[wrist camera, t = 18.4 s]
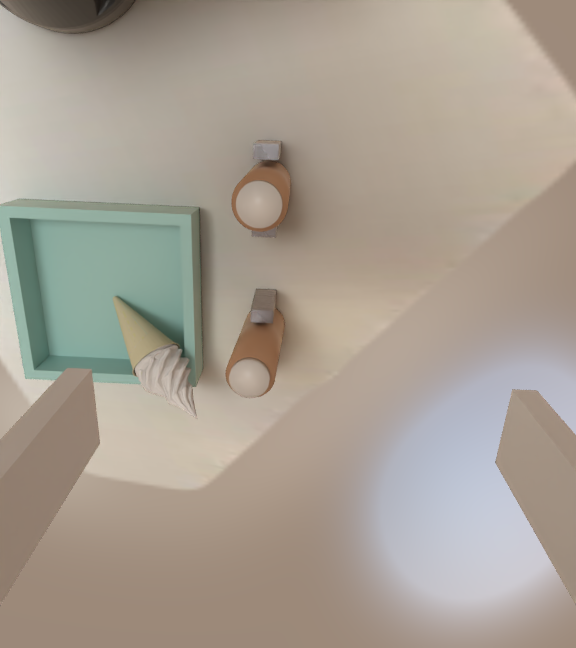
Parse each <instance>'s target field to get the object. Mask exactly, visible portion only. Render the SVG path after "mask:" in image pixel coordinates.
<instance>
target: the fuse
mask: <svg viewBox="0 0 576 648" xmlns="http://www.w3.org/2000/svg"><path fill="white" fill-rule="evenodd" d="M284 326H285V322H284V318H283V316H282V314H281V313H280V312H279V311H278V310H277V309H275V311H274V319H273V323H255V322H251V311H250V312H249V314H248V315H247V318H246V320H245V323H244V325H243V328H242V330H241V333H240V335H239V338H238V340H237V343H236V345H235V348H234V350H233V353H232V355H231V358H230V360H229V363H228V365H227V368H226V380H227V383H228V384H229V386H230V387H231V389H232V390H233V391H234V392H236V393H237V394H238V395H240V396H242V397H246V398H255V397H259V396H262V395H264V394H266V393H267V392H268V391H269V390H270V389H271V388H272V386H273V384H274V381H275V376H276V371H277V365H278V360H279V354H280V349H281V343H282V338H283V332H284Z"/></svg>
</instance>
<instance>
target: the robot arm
mask: <svg viewBox="0 0 576 648" xmlns="http://www.w3.org/2000/svg"><path fill="white" fill-rule="evenodd" d="M134 2H135V0H0V5H1V6H3V7H4V8H5V9H7V10H8V11H10V12H11V13H13V14H14V15H16V16H18V17H19V18H21V19H23V20H25V21H28V22H30V23H32V24H35V25H38V26H41V27H44V28H47V29H49V30H53V31H58V32H64V33H83V32H89V31H93V30H96V29H99V28H102V27H104V26H106V25H108V24H110V23H112V22H113V21H115V20H116V19H118V18H119V17H120V16H121V15H123V14H124V13H125V12H126V11H127V10H128V9H129V8H130V7H131V5H132V4H133V3H134ZM99 444H100V439H99V430H98V421H97V412H96V403H95V394H94V386H93V377H92V369H80V368H67V369H66V370H65V371H64V372H63V373H62V374H61V375H60V376H59V377H58V378H57V379H56V380H55V381H54V383H53V384H52V385H51V386H50V387H49V388H48V389H47V390H46V391H45V392H44V393H43V394H42V395H41V397H40V398H39V399H38V400H37V401H36V402H35V403H34V404H33V405H32V406H31V407H30V408H29V409H28V411H27V412H26V413H25V414H24V415H23V416H22V417H21V418H20V419H19V420H18V421H17V422H16V423H15V425H14V426H13V427H12V428H11V429H10V430H9V431H8V432H7V433H6V434H5V435H4V436H3V437H2V439H1V440H0V605H1V603H2V602H3V600H4V599H5V597H6V595H7V594H8V592H9V591H10V589H11V587H12V586H13V584H14V582H15V581H16V579H17V577H18V576H19V574H20V572H21V571H22V569H23V568H24V566H25V564H26V563H27V561H28V560H29V558H30V556H31V555H32V553H33V551H34V550H35V548H36V546H37V545H38V543H39V542H40V540H41V538H42V537H43V535H44V534H45V532H46V530H47V529H48V527H49V525H50V524H51V522H52V521H53V519H54V517H55V516H56V514H57V512H58V511H59V509H60V508H61V506H62V504H63V503H64V501H65V499H66V498H67V496H68V494H69V493H70V491H71V490H72V488H73V486H74V485H75V483H76V481H77V480H78V478H79V477H80V475H81V473H82V472H83V470H84V468H85V467H86V465H87V464H88V462H89V460H90V459H91V457H92V455H93V454H94V452H95V450H96V449H97V447H98V446H99ZM495 463H496V465H497V467H498V468H499V470H500V472H501V474H502V475H503V477H504V479H505V481H506V482H507V484H508V486H509V488H510V490H511V491H512V493H513V495H514V497H515V498H516V500H517V502H518V504H519V505H520V507H521V509H522V511H523V512H524V514H525V516H526V518H527V520H528V521H529V523H530V525H531V527H532V528H533V530H534V532H535V534H536V536H537V537H538V539H539V541H540V543H541V544H542V546H543V548H544V549H545V551H546V553H547V555H548V557H549V559H550V560H551V562H552V564H553V566H554V567H555V569H556V571H557V573H558V574H559V576H560V578H561V580H562V582H563V583H564V585H565V587H566V589H567V590H568V592H569V594H570V596H571V597H572V599H573V601H574V603H575V604H576V435H575V434H574V433H573V431H572V430H571V429H570V428H569V427H568V426H567V424H566V423H565V422H564V421H563V420H562V419H561V418H560V416H558V414H557V413H556V412H555V411H554V410H553V409H552V407H551V406H550V405H549V404H548V403H547V401H546V400H545V399H544V398H543V397H542V396H541V395H540V393H539V392H538V391H536V390H515V389H514V390H512V393H511V398H510V402H509V406H508V410H507V415H506V419H505V423H504V427H503V432H502V437H501V440H500V444H499V449H498V453H497V457H496V461H495Z"/></svg>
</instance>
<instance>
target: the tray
mask: <svg viewBox="0 0 576 648" xmlns="http://www.w3.org/2000/svg"><path fill="white" fill-rule="evenodd" d="M0 232H1V238H2V244H3V250H4V256H5V261H6V267H7V273H8V279H9V285H10V291H11V297H12V303H13V309H14V315H15V321H16V326H17V332H18V338H19V344H20V350H21V356H22V362H23V368H24V374H25V379H42V380H56V379H57V378H58V377H59V376H60V375H61V374H62V373H63V372H64V371H65V370H66V369H67V368H80V369H92V377H93V382H104V383H125V384H141V382H140V381H139V378H138V377H136V376H134V375H133V373H132V371H133V369H132V365H131V362H130V358H129V355H128V352H127V348H126V345H125V341H124V338H123V334H122V331H121V327H120V324H119V320H118V317H117V313H116V310H115V306H114V303H113V299H112V298H113V297H114V296H117V297H118V298H120V299H121V300H122V301H123V302H125V303H126V304H127V305H128V306H130V307H131V308H132V309H133V310H135V311H136V312H137V313H138V314H140V315H141V316H142V317H143V318H145V319H146V320H147V321H148V322H150V323H151V324H152V325H153V326H154V327H156V328H157V329H158V330H159V331H161V332H162V333H163V334H164V335H166V336H167V337H168V338H169V339H171V340H172V341H173V342H174V343H178V344H179V346H180V349H182V353H181V356H180V357H187V358H188V359H189V362H188V364H187V366H186V367H188V368H191V371H190V373H189V376H188V382H189V383H190V384H191V385H192V387H196V385H197V383H198V380H199V378H200V375H201V372H202V370H203V346H202V301H201V256H200V212H199V207H184V206H163V205H141V204H120V203H98V202H77V201H55V200H34V199H17V200H14V201H10V202H7V203H3V204H0Z"/></svg>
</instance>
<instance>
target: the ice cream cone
mask: <svg viewBox="0 0 576 648" xmlns="http://www.w3.org/2000/svg"><path fill="white" fill-rule="evenodd" d="M112 299H113V303H114V306H115V310H116V313H117V317H118V320H119V324H120V327H121V331H122V334H123V338H124V341H125V345H126V348H127V352H128V355H129V358H130V362H131V365H132V369H133V371H132V373H133V375H134V376H136V377H138V378H139V381H140V382H141V385H142V386H143V388H144V389H145V391H147V392H150V393H153V394H155V395H160V396H163V397H165V398H166V400H167V401H168V403H169V404H171V405H174V406H177V407H179V408H181V409H182V410H184V411H185V412H187V413H188V414H190V415H192V416H193V417H195V418H196V419H198V418H197V415H196V410H195V405H194V400H193V389H192V385H191V384H190V383H189V382H188V376H189V373H190V371H191V368H188V367H186V366H187V364H188V362H189V359H188V358H187V357H180V356H181V353H182V349H180V346H179V344H178V343H174V342H173V341H172V340H171V339H169V338H168V337H167V336H166V335H164V334H163V333H162V332H161V331H159V330H158V329H157V328H156V327H154V326H153V325H152V324H151V323H150V322H148V321H147V320H146V319H145V318H143V317H142V316H141V315H140V314H138V313H137V312H136V311H135V310H133V309H132V308H131V307H130V306H128V305H127V304H126V303H125V302H123V301H122V300H121V299H120V298H118V297H117V296H114V297H113V298H112Z"/></svg>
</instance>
